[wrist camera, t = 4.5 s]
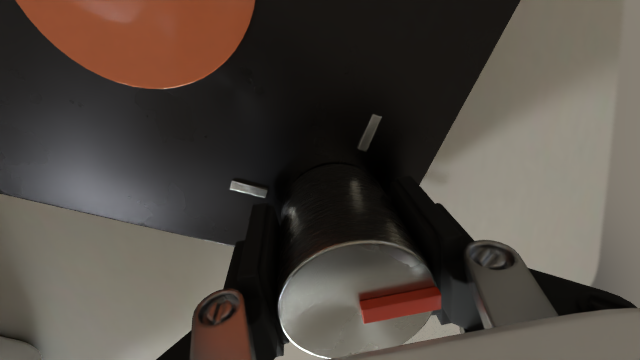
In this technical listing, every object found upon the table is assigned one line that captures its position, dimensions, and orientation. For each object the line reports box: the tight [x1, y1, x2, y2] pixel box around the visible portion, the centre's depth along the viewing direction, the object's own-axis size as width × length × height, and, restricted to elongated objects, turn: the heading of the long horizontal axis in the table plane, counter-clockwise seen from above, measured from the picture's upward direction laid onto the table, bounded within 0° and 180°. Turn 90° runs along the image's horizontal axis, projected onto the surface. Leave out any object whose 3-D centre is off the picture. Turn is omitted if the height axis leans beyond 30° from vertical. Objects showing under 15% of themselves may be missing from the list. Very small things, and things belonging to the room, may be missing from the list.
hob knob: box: [276, 164, 441, 359], centre depth 10 cm, size 4×4×5 cm
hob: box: [0, 0, 520, 247], centre depth 12 cm, size 17×14×3 cm
